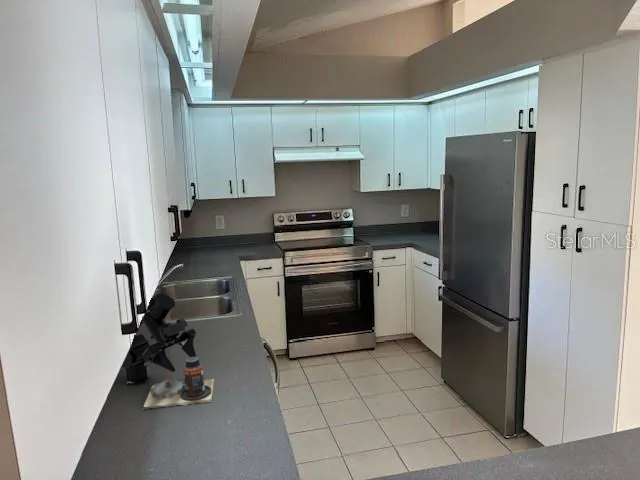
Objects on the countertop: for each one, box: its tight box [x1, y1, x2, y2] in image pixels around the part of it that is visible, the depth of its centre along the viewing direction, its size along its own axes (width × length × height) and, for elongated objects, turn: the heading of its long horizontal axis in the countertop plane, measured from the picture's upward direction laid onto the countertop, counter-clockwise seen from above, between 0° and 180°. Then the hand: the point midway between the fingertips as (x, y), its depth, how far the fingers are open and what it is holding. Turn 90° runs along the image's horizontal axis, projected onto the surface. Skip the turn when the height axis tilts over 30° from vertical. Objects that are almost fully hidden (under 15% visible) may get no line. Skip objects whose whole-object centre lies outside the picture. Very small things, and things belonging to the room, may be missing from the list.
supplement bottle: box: [183, 356, 205, 397], centre depth 151 cm, size 6×6×11 cm
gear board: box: [143, 378, 215, 407], centre depth 153 cm, size 20×14×4 cm
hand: (185, 365), depth 152 cm, fingers open, 9 cm apart
